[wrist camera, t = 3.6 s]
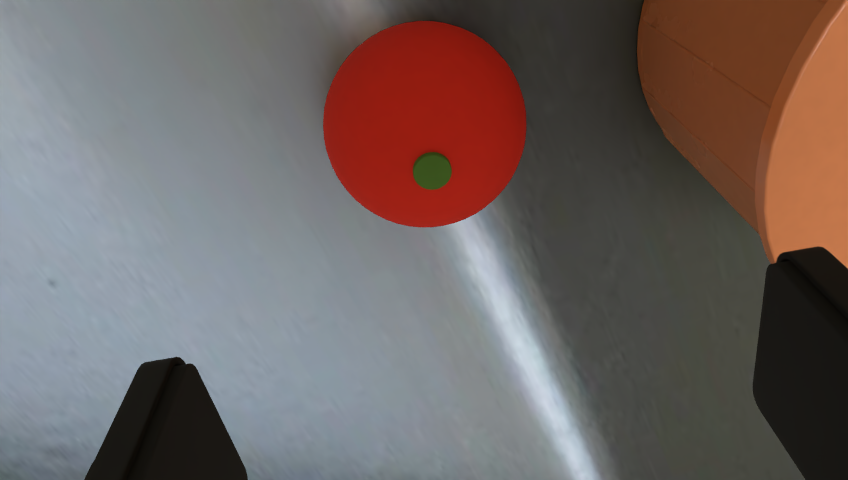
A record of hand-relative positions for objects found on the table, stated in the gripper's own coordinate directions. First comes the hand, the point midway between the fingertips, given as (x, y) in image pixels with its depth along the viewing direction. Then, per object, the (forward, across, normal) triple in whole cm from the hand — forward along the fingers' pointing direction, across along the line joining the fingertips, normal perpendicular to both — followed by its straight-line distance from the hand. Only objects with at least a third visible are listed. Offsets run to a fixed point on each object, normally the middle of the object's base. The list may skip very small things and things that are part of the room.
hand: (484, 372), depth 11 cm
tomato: (+13, 0, 0) cm, 13 cm away
